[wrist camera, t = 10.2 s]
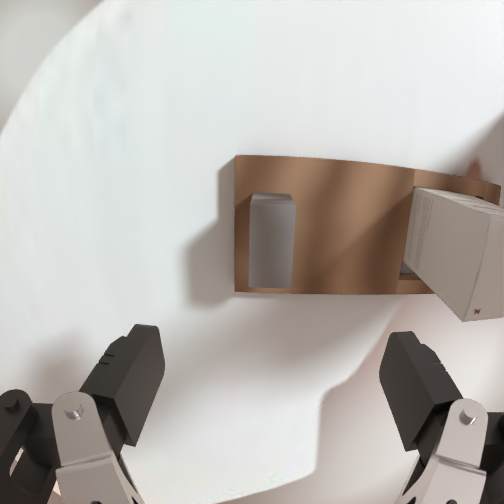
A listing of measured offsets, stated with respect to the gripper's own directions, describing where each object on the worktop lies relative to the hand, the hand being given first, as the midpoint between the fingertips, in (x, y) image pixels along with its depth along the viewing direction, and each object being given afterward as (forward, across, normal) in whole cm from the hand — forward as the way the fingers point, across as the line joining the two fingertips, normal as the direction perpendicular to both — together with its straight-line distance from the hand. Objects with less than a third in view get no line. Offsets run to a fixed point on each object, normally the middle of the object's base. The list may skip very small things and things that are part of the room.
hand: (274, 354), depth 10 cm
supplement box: (+19, -16, 0) cm, 25 cm away
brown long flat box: (+18, -10, 0) cm, 21 cm away
